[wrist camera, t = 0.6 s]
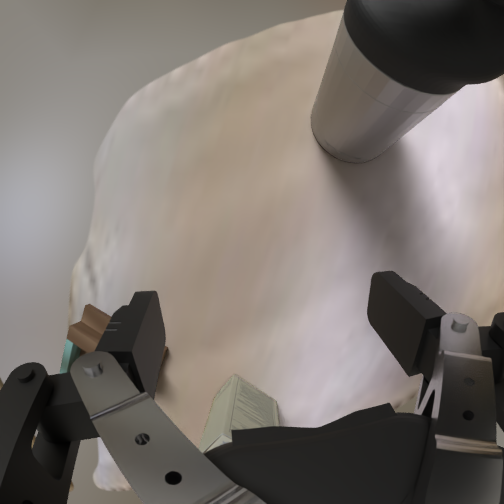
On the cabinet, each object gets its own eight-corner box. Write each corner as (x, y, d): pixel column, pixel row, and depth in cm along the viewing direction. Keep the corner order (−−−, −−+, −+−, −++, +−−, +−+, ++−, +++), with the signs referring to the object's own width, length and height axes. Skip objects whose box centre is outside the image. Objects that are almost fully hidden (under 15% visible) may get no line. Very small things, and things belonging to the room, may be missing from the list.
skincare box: (213, 397, 33) (189, 460, 21) (235, 371, 32) (220, 431, 20) (256, 425, 33) (251, 494, 20) (280, 401, 32) (285, 467, 20)
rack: (89, 303, 33) (73, 309, 30) (167, 347, 33) (157, 358, 29) (68, 390, 34) (55, 400, 30) (136, 431, 33) (126, 445, 30)
